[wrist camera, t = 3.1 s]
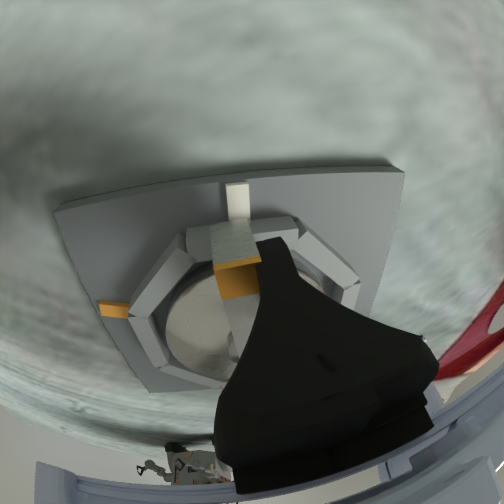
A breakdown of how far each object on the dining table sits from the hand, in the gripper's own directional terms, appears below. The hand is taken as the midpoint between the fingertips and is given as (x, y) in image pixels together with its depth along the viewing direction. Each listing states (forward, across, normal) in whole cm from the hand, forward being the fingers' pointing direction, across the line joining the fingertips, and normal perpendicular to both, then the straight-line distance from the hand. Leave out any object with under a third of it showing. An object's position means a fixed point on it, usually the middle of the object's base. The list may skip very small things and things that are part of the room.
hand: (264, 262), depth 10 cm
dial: (+2, +1, +4) cm, 5 cm away
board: (+3, +1, +6) cm, 7 cm away
